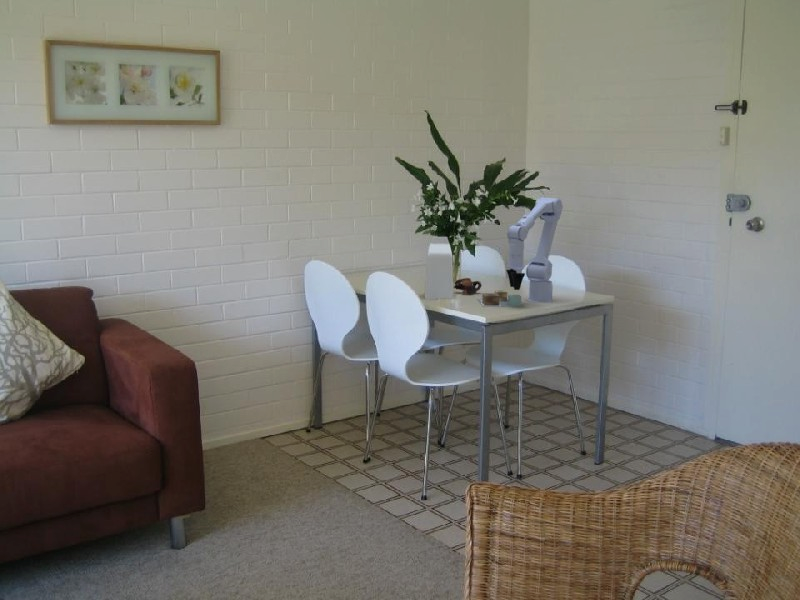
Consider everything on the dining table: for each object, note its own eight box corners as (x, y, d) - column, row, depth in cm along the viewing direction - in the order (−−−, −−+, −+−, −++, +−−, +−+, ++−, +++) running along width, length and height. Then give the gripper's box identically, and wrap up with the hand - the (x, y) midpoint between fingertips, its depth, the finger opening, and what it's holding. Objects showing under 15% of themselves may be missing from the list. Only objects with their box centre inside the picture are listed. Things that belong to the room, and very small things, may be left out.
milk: (425, 299, 380) (426, 238, 375) (424, 294, 391) (425, 235, 387) (453, 299, 380) (454, 238, 375) (452, 295, 391) (453, 236, 386)
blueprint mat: (515, 300, 380) (515, 299, 380) (524, 307, 362) (524, 306, 362) (476, 300, 379) (476, 299, 379) (483, 307, 361) (483, 306, 361)
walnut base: (496, 302, 370) (496, 293, 370) (499, 305, 364) (499, 295, 364) (482, 302, 370) (482, 293, 369) (484, 305, 364) (484, 295, 363)
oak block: (505, 299, 379) (505, 290, 378) (507, 301, 374) (507, 292, 374) (494, 299, 379) (494, 290, 378) (496, 301, 374) (496, 292, 373)
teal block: (518, 304, 368) (519, 294, 368) (520, 306, 364) (521, 296, 363) (507, 304, 368) (508, 294, 367) (510, 306, 364) (510, 296, 363)
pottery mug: (456, 297, 388) (452, 279, 391) (457, 303, 397) (453, 286, 400) (483, 290, 388) (479, 273, 390) (484, 297, 397) (479, 279, 399)
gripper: (503, 253, 369) (501, 285, 372) (510, 257, 355) (508, 291, 357) (519, 253, 370) (518, 285, 372) (527, 257, 356) (526, 291, 358)
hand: (514, 288), depth 365 cm, fingers open, 7 cm apart
